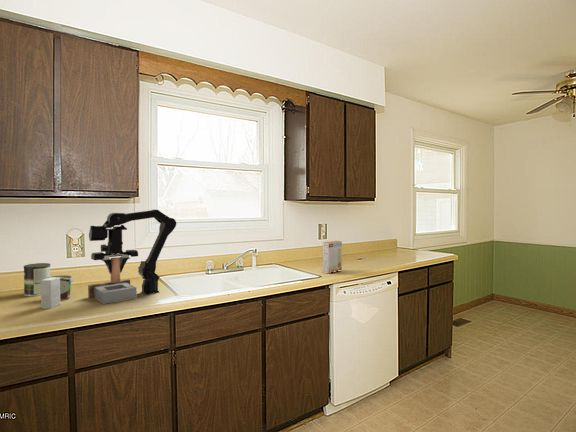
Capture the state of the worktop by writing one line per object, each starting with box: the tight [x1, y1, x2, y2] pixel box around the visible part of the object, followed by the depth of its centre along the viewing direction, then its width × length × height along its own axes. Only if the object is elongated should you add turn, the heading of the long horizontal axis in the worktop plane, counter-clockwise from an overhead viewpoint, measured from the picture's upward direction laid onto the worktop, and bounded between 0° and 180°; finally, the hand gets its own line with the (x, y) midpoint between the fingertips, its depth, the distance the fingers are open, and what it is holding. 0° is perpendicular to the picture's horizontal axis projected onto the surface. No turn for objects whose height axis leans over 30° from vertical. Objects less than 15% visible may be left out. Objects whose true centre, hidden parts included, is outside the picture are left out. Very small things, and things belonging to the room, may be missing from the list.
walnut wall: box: [87, 279, 131, 299], centre depth 156 cm, size 18×2×6 cm, turn 135°
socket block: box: [93, 283, 137, 305], centre depth 151 cm, size 14×14×5 cm
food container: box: [44, 274, 74, 301], centre depth 150 cm, size 12×6×10 cm, turn 92°
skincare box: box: [40, 277, 61, 310], centre depth 137 cm, size 6×4×12 cm
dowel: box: [109, 256, 121, 282], centre depth 151 cm, size 4×4×11 cm
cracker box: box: [322, 240, 343, 274], centre depth 219 cm, size 14×6×21 cm, turn 133°
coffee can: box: [23, 262, 51, 297], centre depth 157 cm, size 10×10×14 cm
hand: (115, 273), depth 151 cm, fingers closed on dowel, 4 cm apart
